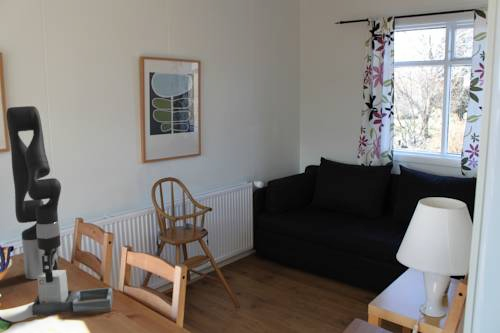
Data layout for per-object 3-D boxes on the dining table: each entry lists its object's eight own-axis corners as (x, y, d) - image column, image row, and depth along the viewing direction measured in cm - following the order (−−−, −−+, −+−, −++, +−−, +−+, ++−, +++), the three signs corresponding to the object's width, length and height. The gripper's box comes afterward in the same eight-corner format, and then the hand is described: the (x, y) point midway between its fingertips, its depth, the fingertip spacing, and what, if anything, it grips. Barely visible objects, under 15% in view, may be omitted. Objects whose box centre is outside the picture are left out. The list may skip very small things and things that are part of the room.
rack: (77, 300, 168) (76, 290, 167) (113, 296, 171) (112, 286, 170) (72, 315, 156) (71, 304, 156) (111, 311, 159) (110, 300, 158)
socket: (39, 301, 167) (39, 293, 167) (75, 298, 170) (74, 289, 169) (32, 315, 156) (31, 306, 156) (70, 311, 159) (69, 302, 159)
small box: (69, 302, 166) (66, 269, 164) (61, 310, 160) (59, 276, 158) (47, 302, 166) (44, 269, 164) (39, 310, 160) (36, 276, 158)
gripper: (41, 229, 165) (45, 271, 167) (32, 241, 151) (36, 286, 153) (63, 228, 167) (66, 269, 169) (55, 239, 153) (59, 284, 155)
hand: (52, 277), depth 161 cm, fingers open, 8 cm apart
